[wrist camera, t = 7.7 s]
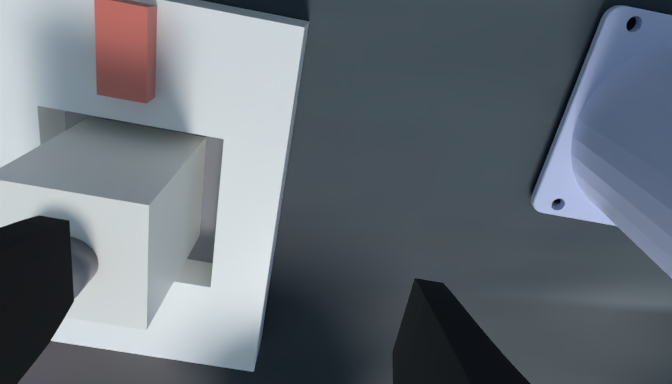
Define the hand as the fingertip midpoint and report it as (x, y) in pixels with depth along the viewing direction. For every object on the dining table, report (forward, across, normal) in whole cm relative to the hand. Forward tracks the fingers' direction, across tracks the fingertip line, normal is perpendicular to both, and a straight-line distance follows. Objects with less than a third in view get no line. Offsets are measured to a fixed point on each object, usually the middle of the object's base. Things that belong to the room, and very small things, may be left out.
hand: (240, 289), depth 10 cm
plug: (+10, +6, +3) cm, 11 cm away
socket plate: (+10, +6, +3) cm, 12 cm away
